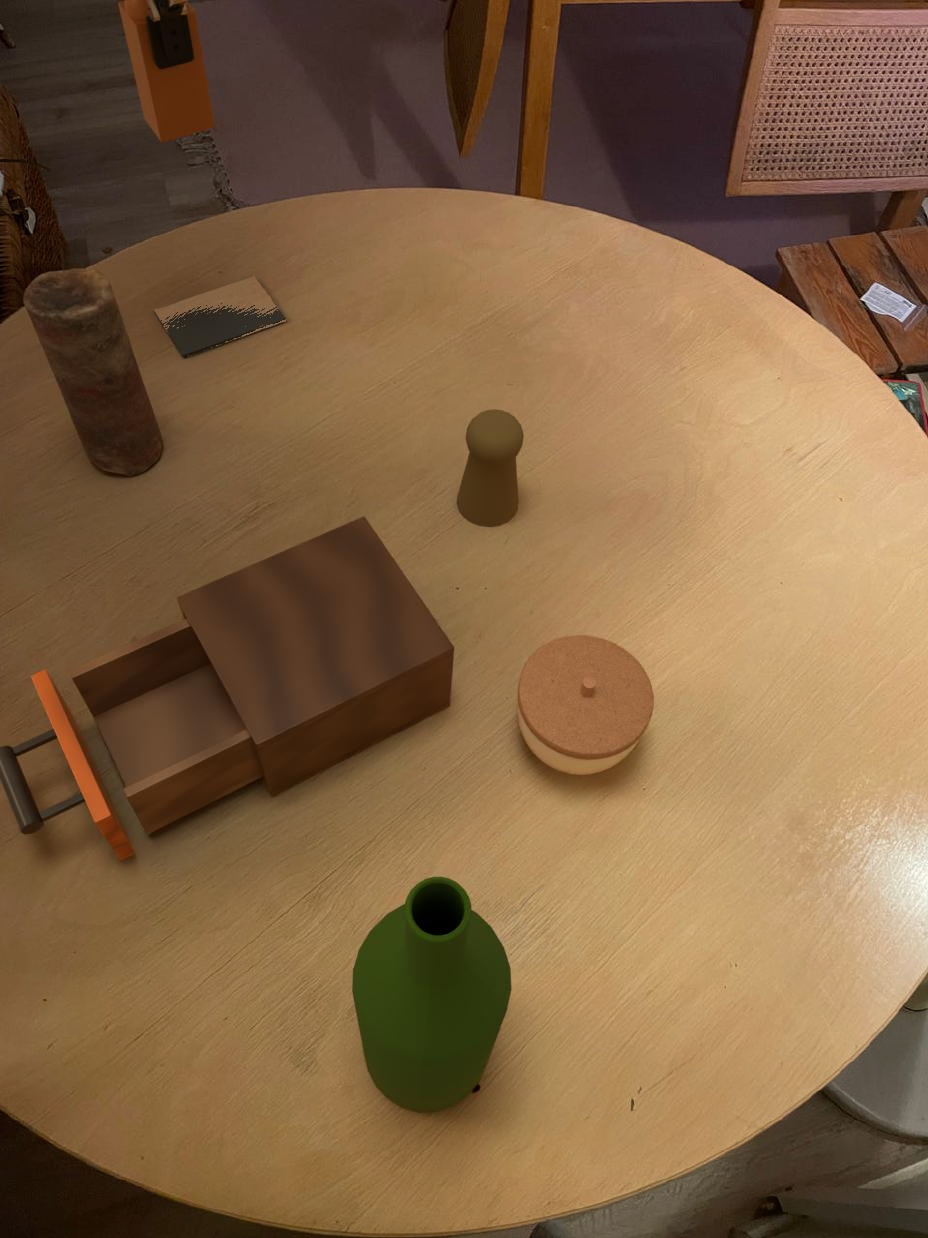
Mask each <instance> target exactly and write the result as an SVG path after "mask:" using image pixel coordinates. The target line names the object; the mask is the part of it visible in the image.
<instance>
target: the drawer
mask: <svg viewBox="0 0 928 1238" xmlns="http://www.w3.org/2000/svg"><path fill="white" fill-rule="evenodd" d="M68 673H69V675H70V678H71V680H72V682H73V683H74V685H75V687H76V688H77V690H78V692H79V695H80V696H81V698H82V699H83V701H84V703H85V705H86V706H87V708H88V710H89V712H90V714H91V716H92V717H93V720H94V722H95V724H96V726H97V728H98V730H99V733H100V735H101V737H102V739H103V741H104V744H105V746H106V747H107V750H108V752H109V755H110V756H111V759H112V760H113V763H114V765H115V768H116V769H117V772H118V774H119V775H120V778H121V780H122V782H123V784H124V786H125V787H124V788H123V789H122V790H123V792H124V795H125V797H126V799H127V800H128V802H129V804H130V806H131V807H132V810H133V811H134V812H135V814H136V817H138V820H139V821H140V823H141V824H142V827H143V828H144V830H145V832H146V833H147V834H148V835H149V834H152V833H153V832H156V831H158V830H160V829H161V828H164V827H166V826H168V825H169V824H172V823H173V822H175V821H177V820H179V819H182V818H183V817H185V816H187V815H189V814H191V813H193V812H195V811H197V810H200V809H201V808H203V807H205V806H206V805H209V804H211V803H212V802H213V803H214V802H215V801H217V800H219V799H221V798H223V797H224V796H227V795H229V794H231V793H233V792H235V791H237V790H238V789H241V788H243V787H245V786H246V785H248V784H251V783H252V782H254V781H257V780H259V779H261V777H263V774H262V771H261V767H260V764H259V760H258V757H257V753H256V750H255V746H254V743H253V740H252V738H251V736H250V734H249V733H248V731H247V729H246V727H245V725H244V723H243V722H242V720H241V718H240V716H239V714H238V712H237V711H236V709H235V707H234V705H233V703H232V701H231V699H230V698H229V696H228V694H227V692H226V690H225V688H224V687H223V685H222V683H221V681H220V679H219V677H218V676H217V674H216V672H215V670H214V668H213V666H212V664H211V663H210V661H209V659H208V657H207V655H206V653H205V652H204V650H203V648H202V646H201V644H200V642H199V641H198V639H197V637H196V635H195V633H194V631H193V629H192V628H191V626H190V624H189V622H188V620H187V618H186V619H182V620H180V621H177V622H175V623H172V624H170V625H168V626H166V627H164V628H162V629H159V630H157V631H155V632H153V633H150V634H148V635H145V636H144V637H141V638H139V639H137V640H133V641H132V642H130V643H128V644H125V645H123V646H121V647H118V648H116V649H114V650H112V651H110V652H107V653H104V654H103V655H100V656H98V657H96V658H93V659H91V660H88V661H87V662H85V663H82V664H80V665H78V666H75V667H73V668H70V669H68ZM30 678H31V681H32V683H33V685H34V687H35V690H36V693H37V695H38V697H39V699H40V701H41V704H42V706H43V708H44V711H45V712H46V715H47V717H48V720H49V721H50V724H51V726H52V729H50V730H48V731H46V732H43V733H41V734H39V735H36V736H35V737H32V738H30V739H28V740H26V741H24V742H21V743H19V744H17V745H15V746H11V745H2V746H0V782H1V783H0V784H1V785H2V788H3V790H4V793H5V795H6V798H7V801H8V802H9V806H10V807H11V810H12V812H13V815H14V818H15V820H16V822H17V825H18V827H19V830H20V833H21V834H22V835H31V834H34V833H36V832H38V831H40V830H41V829H43V827H44V825H45V824H44V822H47V821H49V820H51V819H53V818H55V817H57V816H59V815H61V814H64V813H65V812H68V811H69V810H71V809H73V808H75V807H77V806H80V805H82V804H84V803H85V804H86V806H87V808H88V811H89V813H90V815H91V817H92V820H93V823H94V824H95V826H97V829H98V830H99V831H100V832H101V834H102V835H103V837H104V839H105V840H106V841H107V843H108V844H109V846H110V848H111V849H112V850H113V852H114V853H115V855H116V856H117V858H118V859H119V861H123V860H125V859H127V858H129V857H131V856H133V855H135V854H136V851H135V848H134V847H133V845H132V842H131V840H130V838H129V836H128V833H127V831H126V829H125V826H124V824H123V822H122V820H121V817H120V815H119V814H118V811H117V809H116V807H115V804H114V802H113V800H112V797H111V796H110V793H109V791H108V789H107V787H106V784H105V783H104V780H103V778H102V776H101V774H100V771H99V769H98V767H97V765H96V763H95V760H94V758H93V756H92V753H91V752H90V749H89V747H88V745H87V742H86V741H85V738H84V736H83V733H82V732H81V729H80V727H79V725H78V722H77V721H76V719H75V718H76V717H75V716H74V715H73V713H72V711H71V709H70V708H69V706H68V704H67V703H66V701H65V699H64V698H63V696H62V694H61V692H60V690H59V689H58V687H57V686H56V684H55V682H54V681H53V679H52V677H51V675H50V673H49V672H48V670H47V669H46V668H45V669H43V670H40V671H38V672H36V673H34V674H31V675H30ZM55 740H58V742H59V745H60V747H61V749H62V752H63V754H64V756H65V759H66V760H67V763H68V765H69V767H70V770H71V771H72V775H73V777H74V779H75V781H76V783H77V786H78V788H79V791H80V792H79V793H77V794H75V795H73V796H71V797H69V798H67V799H64V800H62V801H61V802H59V803H56V804H54V805H52V806H50V807H48V808H46V809H44V810H42V811H39V808H38V806H37V803H36V801H35V798H34V796H33V794H32V791H31V789H30V786H29V784H28V781H27V779H26V777H25V774H24V772H23V768H22V766H21V765H20V762H19V760H18V757H20V756H22V755H24V754H26V753H28V752H31V751H33V750H35V749H38V748H39V747H41V746H43V745H46V744H48V743H50V742H52V741H55Z"/></svg>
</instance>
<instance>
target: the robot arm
mask: <svg viewBox="0 0 928 1238" xmlns="http://www.w3.org/2000/svg"><path fill="white" fill-rule="evenodd" d="M186 2H189V0H146V4H147V8H148V12H149V15H150V16H148V17H145V18H146V23H147V28H148V32H149V37H150V42H151V47H152V51H153V56H154V61H155V64H156V65H157V67H158V68H159V69H165V68H169V67H173V66H177V65H180V64H184V63H188V62H191V61H193V59H194V52H193V47H192V41H191V35H190V30H189V24H188V18H187V8H186V4H185V3H186Z"/></svg>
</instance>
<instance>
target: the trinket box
mask: <svg viewBox="0 0 928 1238" xmlns="http://www.w3.org/2000/svg"><path fill="white" fill-rule="evenodd" d="M519 675H520V676H519V679H518V684H517V701H516V711H517V713H516V714H517V722H518V726H519V729H520V732H521V735H522V737H523V740H524V741H525V744H526V745H527V747H528V748H529V749H530V751H531V752H532V753H533V754H534V755H535V756H536V757H537V759H539V760H540V762H543V764H545V765H546V766H548V767H550V768H552V769H553V770H556V771H559V772H561V773H565V774H568V775H576V776H584V775H585V776H587V775H592V774H598V773H601V772H604V771H606V770H609V769H611V768H613V767H614V766H616V765H618V764H619V763H620V762H621V761H623V760H624V759H625V758H626V757H627V756H629V754H630V753H631V752H632V751H633V749H634V748H635V747H636V746H637V744H638V743H639V741H640V739H641V737H642V736H643V735H644V734H645V732H646V730H647V728H648V726H649V725H650V722H651V719H652V716H653V711H654V706H655V698H654V697H655V696H654V691H653V685H652V682H651V680H650V677H649V675H648V673H647V672H646V670H645V668H644V667H643V665H642V664H641V663H640V661H639V660H638V659H637V658H635V656H633V654H631V652H629V651H628V650H626V649H625V648H623V647H622V646H620V645H618V644H617V643H615V642H613V641H611V640H607V639H605V638H601V637H598V636H595V635H584V634H580V635H578V634H577V635H576V634H575V635H569V636H568V635H567V636H562V637H560V638H557V639H553V640H551V641H549V642H547V643H545V644H543V645H542V646H540V647H539V648H538V649H537V650H536V651H534V652H533V653H532V654H531V656H529V658H528V659H527V660H526V662H525V663H524V666H523V668H522V670H521V672H520V674H519Z"/></svg>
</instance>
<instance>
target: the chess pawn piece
mask: <svg viewBox="0 0 928 1238" xmlns="http://www.w3.org/2000/svg"><path fill="white" fill-rule="evenodd" d="M524 438H525V437H524V430H523V427H522V424H521V423H520V421H519V420H518V419H517V417H516V416H514V415H513V414H511V413H510V412H508V411H506V410H502V409H497V408H496V409H495V408H493V409H485V410H484V411H481V412H479V413H478V414H476V415H475V416H474V417H472V419H471V420H470V422H469V423H468V424H467V427H466V432H465V443H466V446H467V449H468V451H469V452H468V457H467V460H466V464H465V467H464V470H463V475H462V478H461V482H460V486H459V489H458V493H457V497H456V505H457V510H458V511H459V512H460V515H462V517H463V518H464V519H466V520H467V521H468V522H470V523H471V524H475V525H477V526H480V527H488V528H491V527H492V528H493V527H498V526H501V525H503V524H506V523H508V522H509V521H510V520H512V519H513V518H514V517H515V516H516V513H517V512H518V509H519V488H518V469H517V468H518V467H517V457H518V455H519V453H520V451H521V449H522V448H523V444H524Z"/></svg>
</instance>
